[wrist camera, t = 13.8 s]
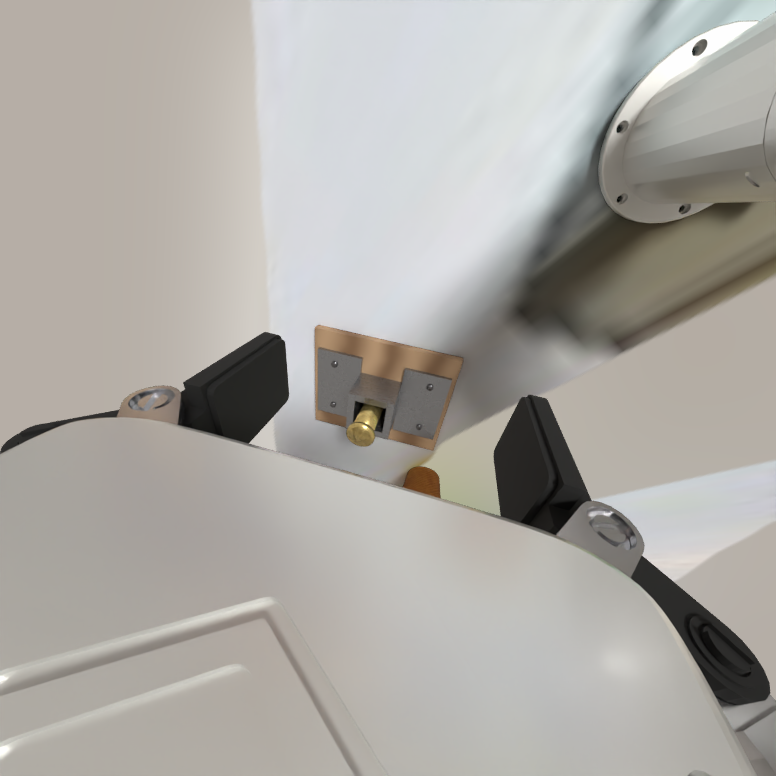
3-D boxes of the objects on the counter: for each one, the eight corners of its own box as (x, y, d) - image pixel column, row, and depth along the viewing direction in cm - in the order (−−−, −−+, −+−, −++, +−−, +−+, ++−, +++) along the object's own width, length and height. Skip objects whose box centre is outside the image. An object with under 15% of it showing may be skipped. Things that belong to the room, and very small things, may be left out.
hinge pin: (392, 387, 44) (375, 429, 36) (388, 406, 46) (372, 449, 38) (368, 381, 44) (347, 421, 36) (366, 400, 46) (345, 442, 38)
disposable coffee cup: (458, 478, 53) (457, 540, 43) (427, 499, 58) (420, 558, 48) (418, 452, 52) (407, 509, 42) (390, 476, 57) (375, 532, 47)
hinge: (452, 378, 41) (450, 401, 36) (433, 437, 47) (429, 463, 42) (319, 346, 43) (300, 364, 38) (319, 407, 49) (303, 429, 45)
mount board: (463, 357, 40) (463, 361, 39) (433, 445, 50) (433, 450, 49) (318, 324, 42) (314, 327, 41) (318, 415, 52) (315, 419, 51)
